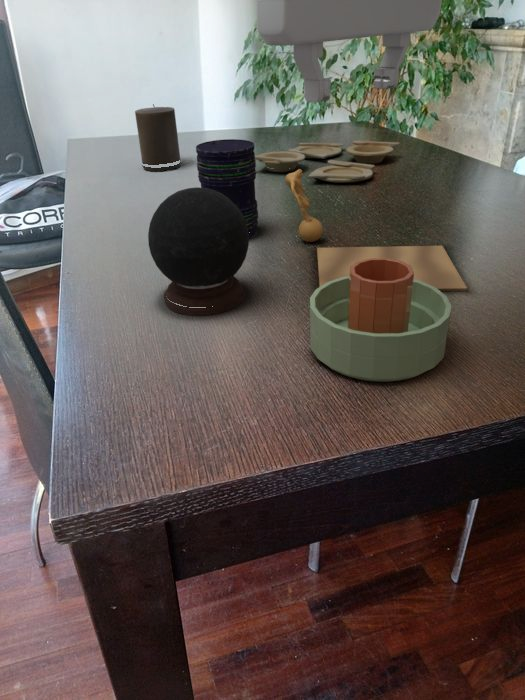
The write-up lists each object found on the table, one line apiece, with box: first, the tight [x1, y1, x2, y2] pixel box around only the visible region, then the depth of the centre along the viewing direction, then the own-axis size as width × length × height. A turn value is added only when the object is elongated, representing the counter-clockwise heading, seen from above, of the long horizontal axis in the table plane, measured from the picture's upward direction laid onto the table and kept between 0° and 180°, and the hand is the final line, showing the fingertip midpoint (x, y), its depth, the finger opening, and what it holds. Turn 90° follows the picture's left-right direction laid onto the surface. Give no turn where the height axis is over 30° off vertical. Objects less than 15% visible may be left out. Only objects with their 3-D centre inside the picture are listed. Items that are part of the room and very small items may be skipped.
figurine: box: [285, 168, 323, 243], centre depth 93 cm, size 8×6×12 cm
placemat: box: [316, 245, 468, 292], centre depth 85 cm, size 20×16×1 cm
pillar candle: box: [134, 104, 182, 172], centre depth 142 cm, size 10×10×15 cm
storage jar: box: [195, 138, 259, 240], centre depth 97 cm, size 10×10×15 cm
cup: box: [347, 258, 414, 334], centre depth 63 cm, size 7×7×9 cm
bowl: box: [309, 276, 452, 383], centre depth 64 cm, size 15×15×6 cm
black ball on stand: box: [147, 187, 250, 317], centre depth 75 cm, size 13×13×15 cm
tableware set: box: [255, 139, 401, 184], centre depth 139 cm, size 35×29×4 cm
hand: (353, 94), depth 53 cm, fingers open, 8 cm apart
